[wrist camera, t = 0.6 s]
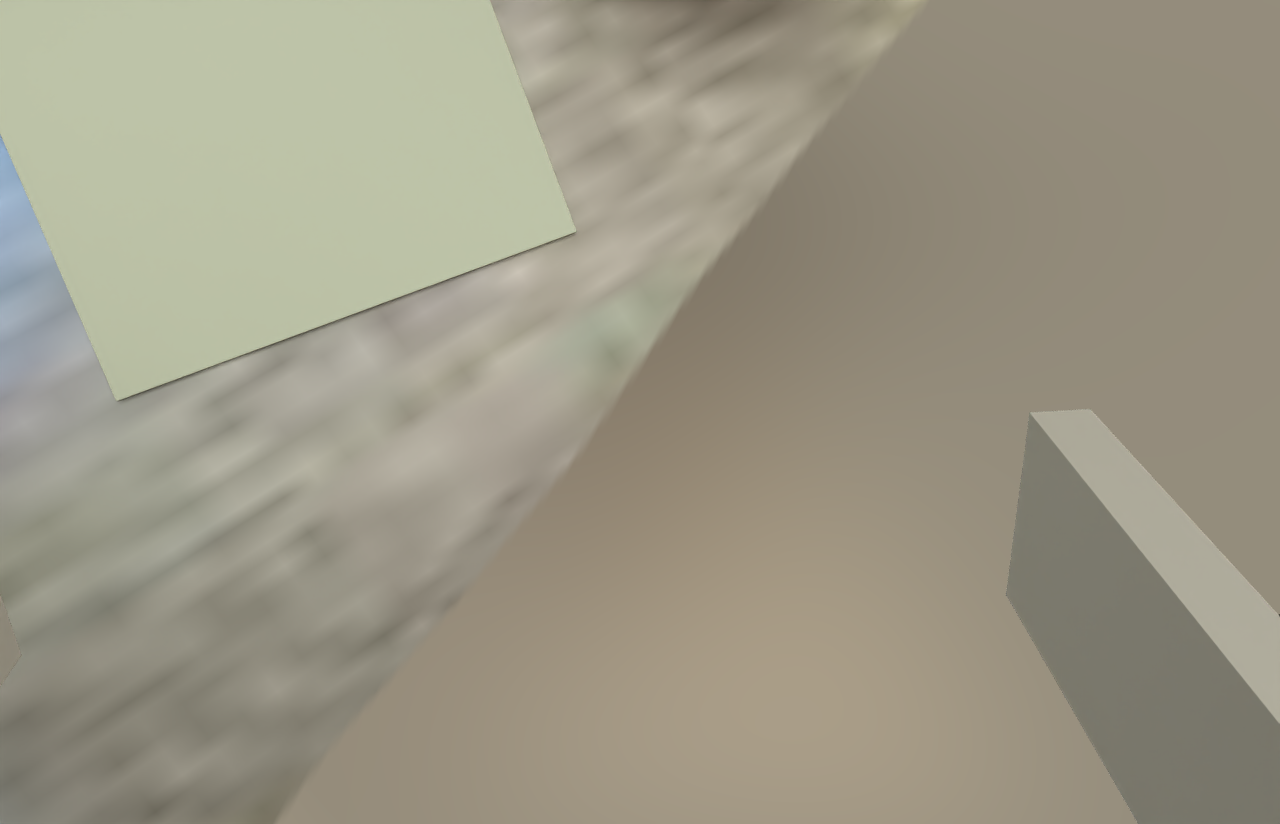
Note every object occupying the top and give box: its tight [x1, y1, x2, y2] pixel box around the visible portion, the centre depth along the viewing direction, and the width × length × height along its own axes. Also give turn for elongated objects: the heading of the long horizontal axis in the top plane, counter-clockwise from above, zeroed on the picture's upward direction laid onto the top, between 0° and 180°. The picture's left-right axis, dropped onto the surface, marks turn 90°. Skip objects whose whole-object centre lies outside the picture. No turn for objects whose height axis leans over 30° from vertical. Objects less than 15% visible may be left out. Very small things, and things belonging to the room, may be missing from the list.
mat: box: [0, 0, 577, 401], centre depth 37 cm, size 16×16×1 cm
